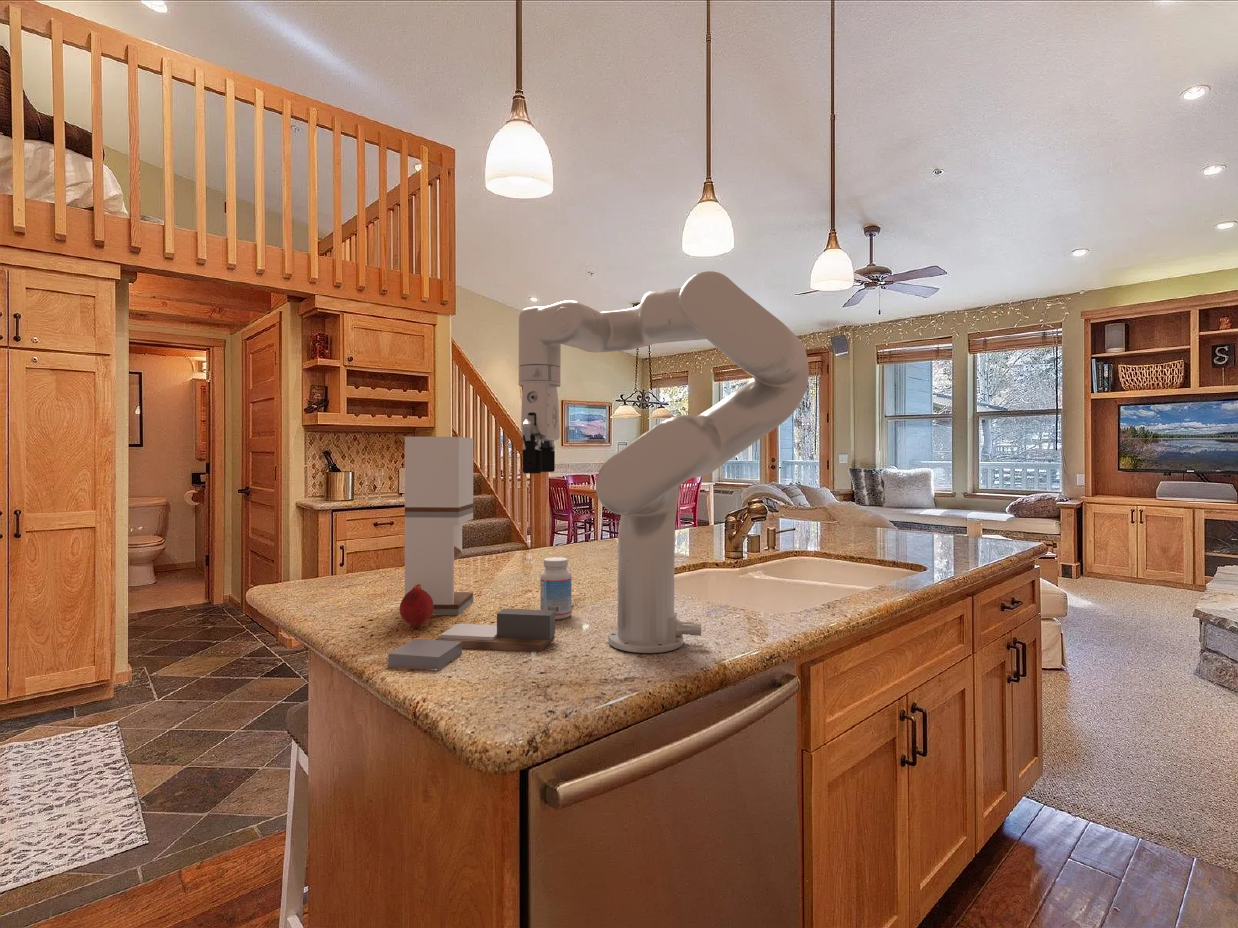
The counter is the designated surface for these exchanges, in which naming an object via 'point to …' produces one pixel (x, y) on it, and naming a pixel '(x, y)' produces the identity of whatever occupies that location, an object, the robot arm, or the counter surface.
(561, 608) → the pill bottle
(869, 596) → the counter surface
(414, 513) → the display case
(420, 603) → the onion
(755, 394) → the robot arm
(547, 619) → the stepped grey white block
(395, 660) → the tile
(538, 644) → the rest
